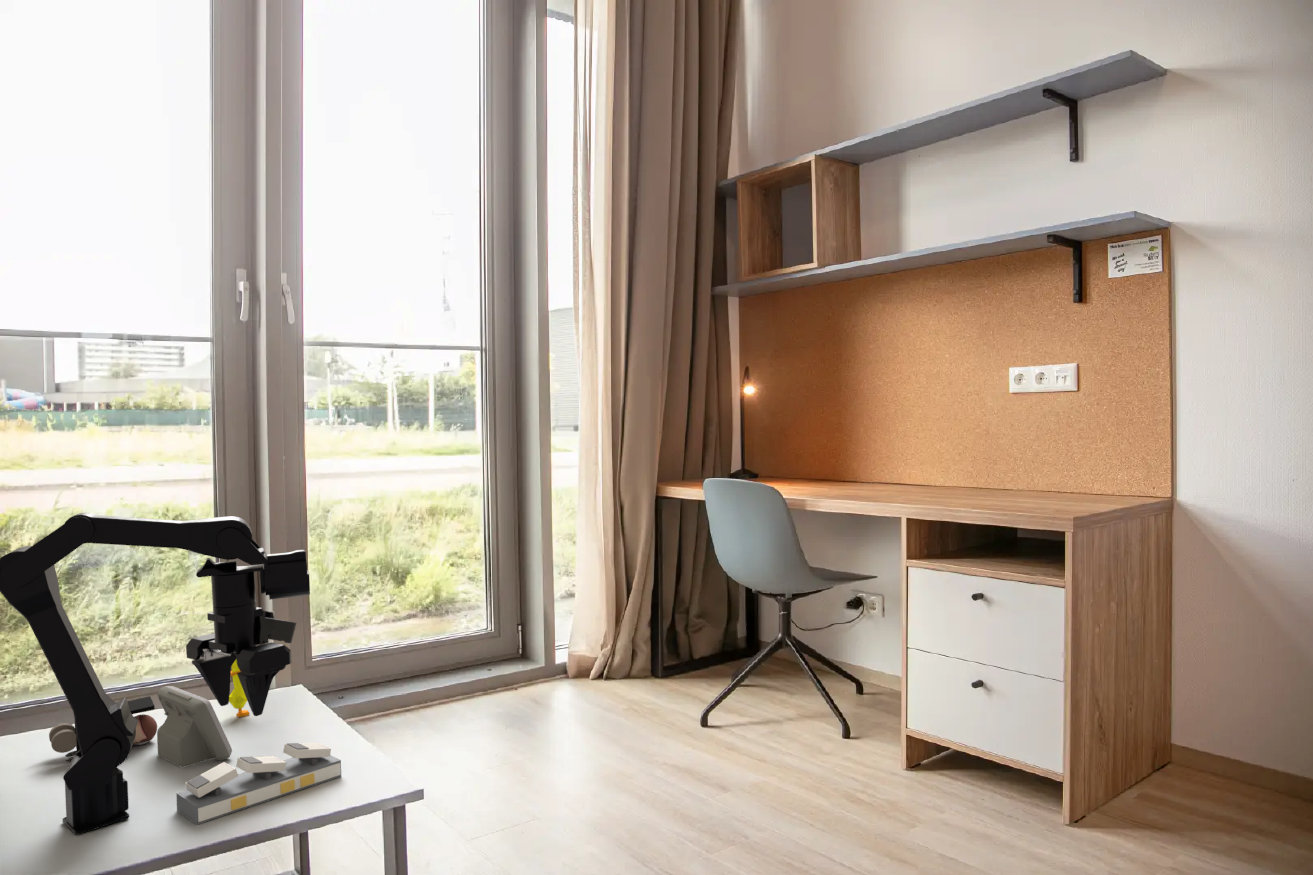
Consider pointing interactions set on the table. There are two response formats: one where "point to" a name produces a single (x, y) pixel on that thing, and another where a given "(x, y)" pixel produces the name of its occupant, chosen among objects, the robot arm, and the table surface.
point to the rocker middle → (261, 764)
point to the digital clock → (189, 729)
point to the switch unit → (257, 788)
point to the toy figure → (237, 693)
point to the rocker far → (306, 750)
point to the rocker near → (211, 779)
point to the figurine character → (146, 728)
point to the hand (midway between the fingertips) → (240, 710)
